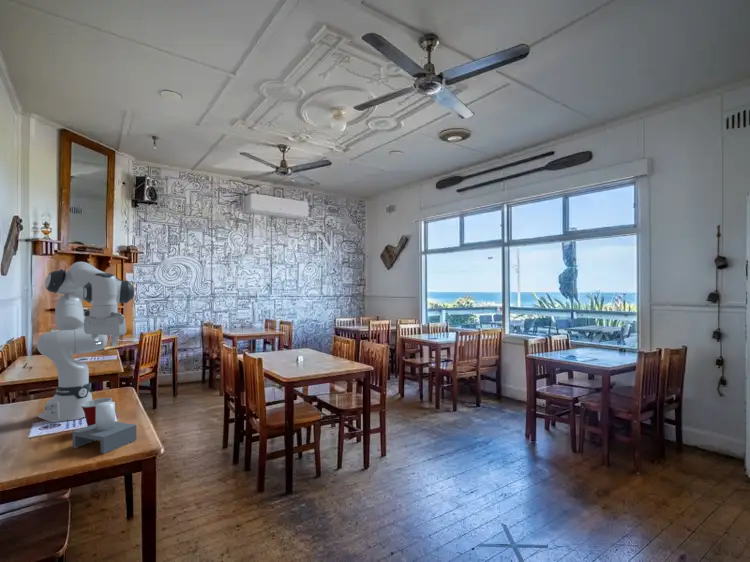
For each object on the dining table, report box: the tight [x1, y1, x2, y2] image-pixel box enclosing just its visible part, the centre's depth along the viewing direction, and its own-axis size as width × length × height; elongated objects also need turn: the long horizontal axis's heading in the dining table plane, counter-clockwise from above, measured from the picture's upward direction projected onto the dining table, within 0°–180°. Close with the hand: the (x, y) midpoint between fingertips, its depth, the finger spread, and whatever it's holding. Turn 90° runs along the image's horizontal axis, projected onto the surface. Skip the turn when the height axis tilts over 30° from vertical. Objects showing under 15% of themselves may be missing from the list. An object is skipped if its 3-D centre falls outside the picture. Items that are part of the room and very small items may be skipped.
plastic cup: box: [81, 397, 113, 426], centre depth 169 cm, size 11×11×12 cm
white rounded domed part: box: [96, 401, 116, 431], centre depth 154 cm, size 6×6×9 cm
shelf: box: [72, 421, 137, 455], centre depth 154 cm, size 16×13×6 cm
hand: (105, 345), depth 171 cm, fingers open, 8 cm apart
